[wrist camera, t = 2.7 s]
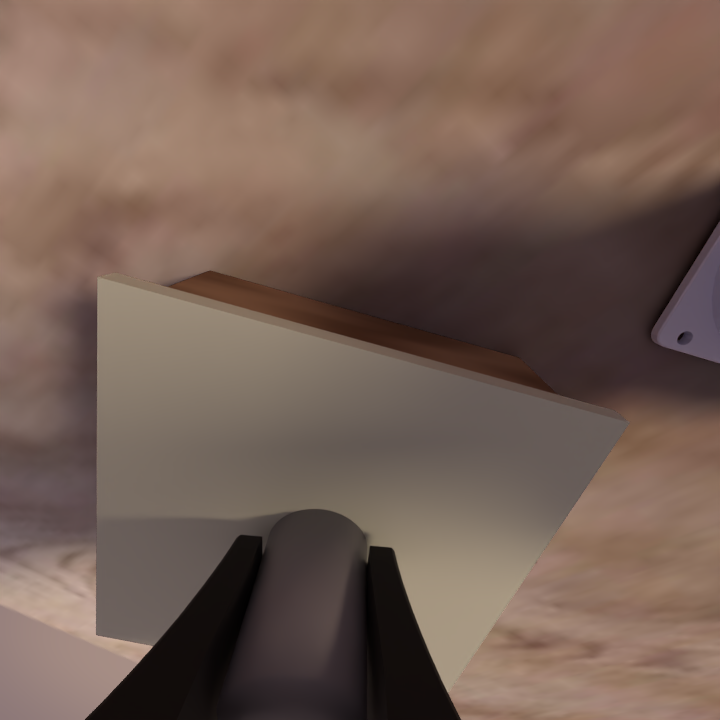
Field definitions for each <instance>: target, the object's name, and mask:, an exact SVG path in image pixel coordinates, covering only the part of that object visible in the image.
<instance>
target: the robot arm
mask: <svg viewBox="0 0 720 720" xmlns="http://www.w3.org/2000/svg"><path fill="white" fill-rule="evenodd" d="M683 332H684V335H683V337H682V338H681V339H680V340H678V341H677V339H678V336H679V335H680V334H681V333H683ZM651 338H652V340H653V342H655V343H657V344H659V345H661V346H663V347H666V348H669V349H673V350H676V351H680V352H683V353H686V354H690V355H693V356H696V357H700V358H703V359H707V360H710V361H713V362H717V363H720V222H719V223H718V225H717V226H716V228H715V230H714V231H713V233H712V234H711V236H710V238H709V239H708V241H707V242H706V244H705V246H704V247H703V249H702V250H701V252H700V254H699V255H698V257H697V258H696V260H695V262H694V263H693V265H692V266H691V268H690V270H689V271H688V273H687V274H686V276H685V278H684V279H683V281H682V282H681V284H680V286H679V287H678V289H677V290H676V292H675V294H674V295H673V297H672V298H671V300H670V302H669V303H668V305H667V307H666V308H665V310H664V311H663V313H662V315H661V316H660V318H659V319H658V321H657V323H656V324H655V326H654V327H653V329H652V332H651ZM262 556H263V551H262V536H251V535H239V536H238V537H237V538H236V539H235V541H234V542H233V544H232V546H231V547H230V549H229V550H228V551H227V553H226V554H225V556H224V557H223V559H222V560H221V562H220V563H219V564H218V566H217V567H216V569H215V570H214V571H213V573H212V574H211V575H210V577H209V578H208V580H207V581H206V582H205V584H204V585H203V586H202V587H201V589H200V590H199V591H198V593H197V594H196V595H195V596H194V598H193V599H192V600H191V602H190V603H189V604H188V605H187V607H186V608H185V609H184V611H183V612H182V613H181V614H180V615H179V617H178V618H177V619H176V620H175V622H174V623H173V624H172V625H171V626H170V627H169V629H168V630H167V631H166V632H165V633H164V634H163V636H162V637H161V638H160V639H159V640H158V642H157V643H156V644H155V645H154V646H153V647H152V649H151V650H150V651H149V652H148V653H147V654H146V655H145V657H144V658H143V659H142V660H141V661H140V662H139V663H138V664H137V666H136V667H135V668H134V669H133V670H132V671H131V672H130V673H129V674H128V675H127V677H126V678H125V679H124V680H123V681H122V682H121V683H120V684H119V685H118V686H117V687H116V688H115V689H114V690H113V691H112V692H111V693H110V695H109V696H108V697H107V698H106V699H105V700H104V701H103V702H102V703H101V704H100V705H99V706H98V707H97V708H96V709H95V710H94V711H93V712H92V713H91V714H90V715H89V716H88V717H87V718H86V719H85V720H218V718H217V712H216V710H217V704H218V701H219V697H220V694H221V691H222V688H223V684H224V681H225V678H226V674H227V671H228V668H229V665H230V661H231V658H232V655H233V652H234V648H235V645H236V642H237V638H238V635H239V632H240V629H241V625H242V622H243V619H244V615H245V612H246V609H247V606H248V602H249V599H250V596H251V592H252V589H253V586H254V583H255V579H256V576H257V573H258V569H259V566H260V563H261V560H262ZM367 720H461V719H460V717H459V715H458V713H457V711H456V709H455V707H454V705H453V703H452V701H451V699H450V697H449V694H448V692H447V690H446V688H445V686H444V684H443V682H442V680H441V677H440V675H439V673H438V671H437V668H436V666H435V664H434V662H433V659H432V657H431V655H430V653H429V650H428V648H427V645H426V643H425V641H424V638H423V636H422V633H421V631H420V628H419V625H418V623H417V620H416V618H415V615H414V613H413V610H412V607H411V604H410V602H409V599H408V596H407V593H406V590H405V587H404V584H403V581H402V577H401V574H400V571H399V567H398V563H397V559H396V555H395V551H394V550H393V549H392V548H391V547H380V546H370V548H369V555H368V562H367Z"/></svg>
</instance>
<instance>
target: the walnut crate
mask: <svg viewBox="0 0 720 720" xmlns="http://www.w3.org/2000/svg"><path fill="white" fill-rule="evenodd" d="M169 288H173V289H176V290H180V291H184V292H187V293H191V294H194V295H198V296H202V297H205V298H209V299H213V300H216V301H220V302H223V303H227V304H231V305H234V306H238V307H242V308H245V309H249V310H252V311H256V312H260V313H263V314H267V315H271V316H274V317H278V318H281V319H285V320H289V321H292V322H296V323H300V324H303V325H307V326H310V327H314V328H318V329H321V330H325V331H329V332H332V333H336V334H339V335H343V336H347V337H350V338H354V339H358V340H361V341H365V342H368V343H372V344H376V345H379V346H383V347H387V348H390V349H394V350H397V351H401V352H405V353H408V354H412V355H416V356H419V357H423V358H426V359H430V360H434V361H437V362H441V363H445V364H448V365H452V366H455V367H459V368H463V369H466V370H470V371H474V372H477V373H481V374H484V375H488V376H492V377H495V378H499V379H503V380H506V381H510V382H513V383H517V384H521V385H524V386H528V387H532V388H535V389H539V390H542V391H546V392H550V393H553V394H556V393H555V392H554V391H553V390H552V389H551V388H550V387H549V386H548V385H547V384H546V383H545V382H544V381H543V380H542V379H541V378H540V377H539V376H538V375H537V374H536V373H535V372H534V371H533V370H532V369H531V368H529V367H528V366H527V365H526V364H525V363H524V362H523V361H522V360H521V359H520V358H518V357H515V356H511V355H508V354H504V353H501V352H497V351H494V350H490V349H486V348H483V347H479V346H476V345H472V344H469V343H465V342H462V341H458V340H455V339H451V338H447V337H444V336H440V335H437V334H433V333H430V332H426V331H423V330H419V329H415V328H412V327H408V326H405V325H401V324H398V323H394V322H391V321H387V320H384V319H380V318H376V317H373V316H369V315H366V314H362V313H359V312H355V311H352V310H348V309H345V308H341V307H337V306H334V305H330V304H327V303H323V302H320V301H316V300H313V299H309V298H305V297H302V296H298V295H295V294H291V293H288V292H284V291H281V290H277V289H274V288H270V287H266V286H263V285H259V284H256V283H252V282H249V281H245V280H242V279H238V278H235V277H231V276H227V275H224V274H220V273H217V272H213V271H208V272H205V273H203V274H200V275H197V276H195V277H192V278H190V279H187V280H184V281H182V282H179V283H176V284H174V285H171V286H169Z"/></svg>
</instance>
